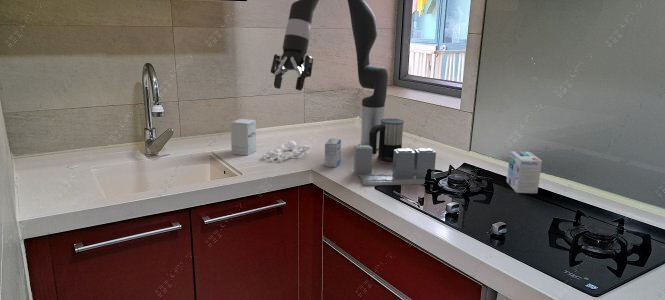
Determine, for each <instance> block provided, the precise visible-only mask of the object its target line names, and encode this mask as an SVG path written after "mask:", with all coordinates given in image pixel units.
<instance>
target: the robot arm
mask: <svg viewBox="0 0 665 300" xmlns="http://www.w3.org/2000/svg"><path fill="white" fill-rule="evenodd" d="M319 1H320V0H296V1H294V2H292V4H290V5H291V6H290V10H289V15H288V21H287V24H286V28H285V33H284V37H283V43H282V54H281V55H280V54H274V55H273V59H272V64H271V69H270V73H271V74H273V75H274V82H273V86H274V88H275V89H279V90H280V89H281V87H282V81H283V76H284V75H285V73H287V72H288V71H295V72H296V74H297V78H296V84H295V90H297V91H302V89H303V88H304V85H305V79H306V78H311V77H312V72H313V65H314V64H313V63H314V57H312V56H310V55H308V54H307V53H308V48H309V42H310V37H311V30H312V27H311V26H312V21H313V17H314V16H313V15H314V12H315V9H316V8H317V5H318V3H319ZM347 5H348V10H349V15H350V22H351V23H350V24H351V28H352V29H351V30H352V36H353V39H354V40H353V41H354V46H355V52H356V62H357V63H356V64H357V78H358V83H359V85H360V87H362V88H364V89H369V90H373V93H372V95H370V96H366V97H365V96H364V98H362V99H361V100H362V101H361V121H360V124H361V125H360V146H364V145H369V133H370V130H371V128H372V127H373V126H375V125H380V124H381V121H380V120H381V119H385V103H386V98H387V89H388V82H389V81H388V79H389V76H388V75H389V73H388V70H387V68H386V67H384V66H377V65H371V64H370V63H371V61H370V53H371V51H372V48H373V46H374V44H375V42H376V39H377V35H378V28H377V19H376V15H375V13H374V12H373V10H372V9H371V7H370V6H369V4H367V2H366V0H347ZM303 64H304V65H303ZM379 137H380V131H379V132H378V133H377V147H376V150H379Z"/></svg>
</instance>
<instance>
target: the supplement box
mask: <svg viewBox="0 0 665 300" xmlns="http://www.w3.org/2000/svg"><path fill="white" fill-rule="evenodd" d="M230 141H231V142H230V143H231V147H230V148H231V154H232V155H241V156H242V155H243V156H249V155H251V154H254V152H256V151H257V120H255V119H247V118H239V119H236V120H234V121H231V122H230Z"/></svg>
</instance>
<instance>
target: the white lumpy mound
mask: <svg viewBox="0 0 665 300" xmlns="http://www.w3.org/2000/svg"><path fill="white" fill-rule="evenodd" d="M286 148H287V149H288V150H290V151H285V150H286ZM309 150H310V146H308V145H307V144H300V145H298V146H297V142H295V140H289V141H288V142H287V143H286V141H284V142H283V144H281V145H278V146H277V147H276V148H274V149H273V150H268V151H267V152H265V153H264V154H263V159H264V160H266V161H268V162H269V163H281V162H283V161H285V160H289V159H294V160H295V159H299V158H301V157H302V156H308V154H310V151H309ZM305 152H307V153H305ZM275 160H276V161H275Z"/></svg>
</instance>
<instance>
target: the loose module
mask: <svg viewBox="0 0 665 300" xmlns="http://www.w3.org/2000/svg"><path fill="white" fill-rule="evenodd" d="M372 153H373V148H372V147H371V146H369V145H364V146H361V145H354V161H353V162H354V163H353V173H354V176H356V177H357V176H358V177H359V174H373V172H372V171H373V169H372V168H373V154H372Z"/></svg>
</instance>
